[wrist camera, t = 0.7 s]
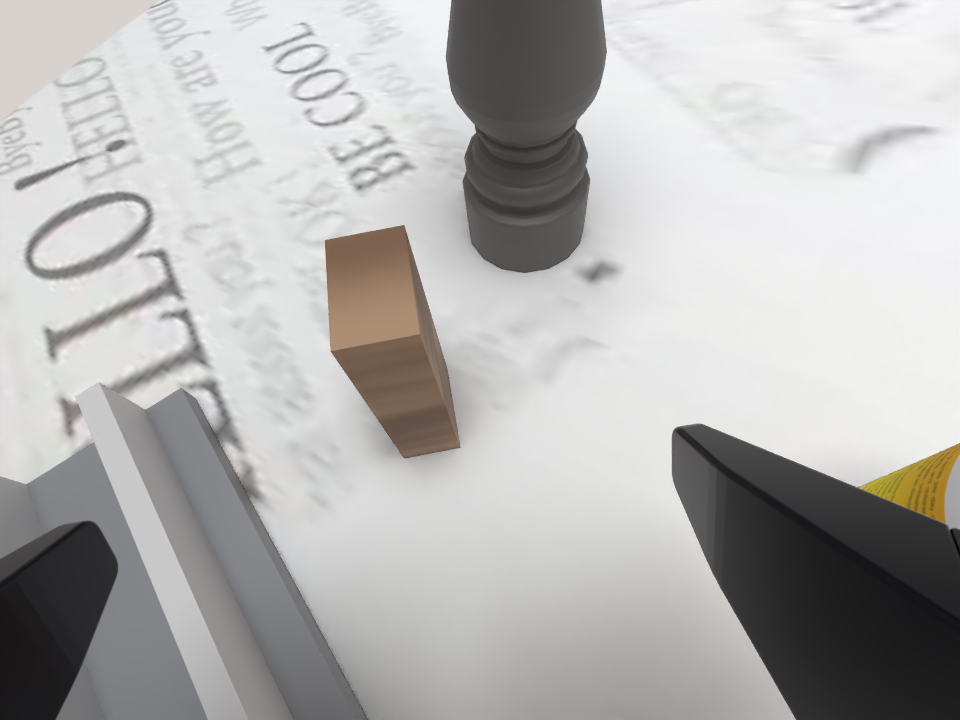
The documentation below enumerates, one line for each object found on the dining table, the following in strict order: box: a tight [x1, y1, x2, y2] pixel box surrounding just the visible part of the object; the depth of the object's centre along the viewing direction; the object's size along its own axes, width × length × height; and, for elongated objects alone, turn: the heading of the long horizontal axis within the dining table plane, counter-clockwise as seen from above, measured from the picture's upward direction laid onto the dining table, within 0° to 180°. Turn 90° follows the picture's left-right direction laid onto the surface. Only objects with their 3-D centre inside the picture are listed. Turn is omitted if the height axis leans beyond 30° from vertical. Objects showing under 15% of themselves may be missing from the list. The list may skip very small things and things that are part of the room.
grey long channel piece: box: [0, 383, 368, 720], centre depth 19 cm, size 18×10×4 cm, turn 37°
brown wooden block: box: [325, 225, 460, 458], centre depth 20 cm, size 5×2×10 cm, turn 10°
